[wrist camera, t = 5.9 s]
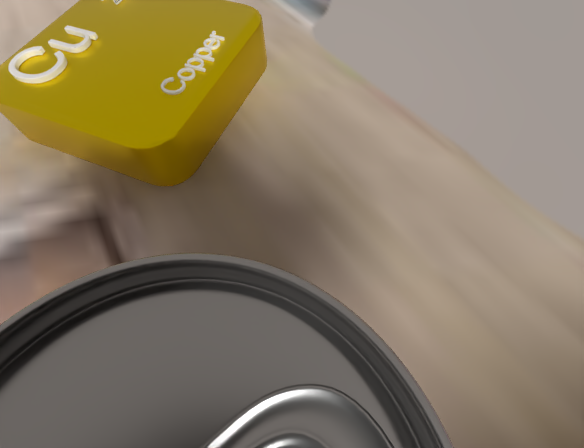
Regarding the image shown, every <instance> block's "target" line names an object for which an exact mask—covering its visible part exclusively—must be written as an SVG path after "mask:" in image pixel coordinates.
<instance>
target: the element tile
mask: <svg viewBox="0 0 584 448" xmlns="http://www.w3.org/2000/svg"><path fill="white" fill-rule="evenodd" d="M266 67H267V57H266V49H265V40H264V31H263V23H262V17H261V15H260V13H259V12H258V10H256V9H254V8H253V7H251V6H248V5H245V4H240V3H235V2H231V1H226V0H80V1H78V2H77V3H76V4H75V5H74V6H72V7H71V8H70V9H69V10H67V11H66V12H65V13H64V14H63V15H61V16H60V17H59V18H58V19H56V20H55V21H54V22H53V23H51V24H50V25H49V26H48V27H47V28H45V29H44V30H43V31H42V32H40V33H39V34H38V35H37V36H36V37H34V38H33V39H32V40H31V41H29V42H28V43H27V44H26V45H25V46H23V47H22V48H21V49H20V50H18V51H17V52H16V53H15V54H14V55H12V56H11V57H10V58H9V59H7V60H6V61H5V62H4V63H3V64H1V65H0V112H1V113H2V114H3V115H4V116H5V117H6V118H7V119H8V120H9V121H10V122H11V123H13V124H14V125H15V126H16V127H17V128H18V129H19V130H20V131H21V132H22V133H23V134H24V135H25V136H26V137H27V138H28V139H30V140H32V141H34V142H37V143H40V144H43V145H45V146H48V147H51V148H54V149H56V150H59V151H62V152H65V153H67V154H70V155H73V156H76V157H78V158H81V159H84V160H86V161H89V162H92V163H95V164H97V165H100V166H103V167H106V168H108V169H111V170H114V171H117V172H119V173H122V174H125V175H128V176H130V177H133V178H136V179H138V180H141V181H144V182H147V183H149V184H152V185H157V186H174V185H177V184H180V183H182V182H184V181H185V180H187V179H188V178H189V177H191V176H192V175H193V174H194V173H195V172H196V171H197V169H198V168H199V167H200V165H201V164H202V162H203V161H204V159H205V158H206V156H207V155H208V153H209V152H210V150H211V149H212V148H213V146H214V145H215V143H216V142H217V140H218V139H219V137H220V136H221V134H222V133H223V131H224V130H225V128H226V127H227V126H228V124H229V123H230V121H231V120H232V118H233V117H234V115H235V114H236V112H237V111H238V109H239V108H240V106H241V105H242V104H243V102H244V101H245V99H246V98H247V96H248V95H249V93H250V92H251V90H252V89H253V87H254V86H255V84H256V83H257V82H258V80H259V79H260V77H261V76H262V74H263V73H264V71H265V69H266Z"/></svg>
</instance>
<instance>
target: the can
mask: <svg viewBox="0 0 584 448" xmlns="http://www.w3.org/2000/svg"><path fill="white" fill-rule="evenodd" d="M0 448H454V447H453V445H452V443H451V441H450V438H449V436H448V434H447V432H446V430H445V429H444V427H443V425H442V423H441V421H440V419H439V417H438V415H437V414H436V412H435V410H434V409H433V407H432V405H431V403H430V402H429V400H428V399H427V397H426V395H425V394H424V392H423V391H422V389H421V388H420V386H419V385H418V383H417V382H416V380H415V379H414V377H413V376H412V375H411V373H410V372H409V371H408V369H407V368H406V367H405V365H404V364H403V363H402V361H401V360H400V359H399V358H398V357H397V355H396V354H395V353H394V352H393V350H392V349H391V348H390V347H389V346H388V345H387V344H386V343H385V342H384V340H383V339H382V338H381V337H380V336H379V335H378V334H377V333H376V332H375V331H374V330H373V329H372V328H371V327H370V326H369V325H368V324H367V323H365V322H364V321H363V320H362V319H361V318H360V317H359V316H358V315H356V314H355V313H354V312H353V311H352V310H350V309H349V308H348V307H347V306H345V305H344V304H343V303H341V302H340V301H339V300H337V299H336V298H334V297H333V296H331V295H330V294H328V293H327V292H325V291H324V290H322V289H320V288H319V287H317V286H315V285H313V284H312V283H310V282H308V281H306V280H304V279H302V278H300V277H298V276H296V275H294V274H292V273H289V272H287V271H284V270H282V269H279V268H277V267H274V266H271V265H268V264H265V263H261V262H258V261H254V260H250V259H246V258H241V257H235V256H229V255H221V254H210V253H179V254H167V255H159V256H152V257H147V258H141V259H137V260H132V261H128V262H124V263H121V264H117V265H114V266H111V267H108V268H105V269H102V270H99V271H96V272H94V273H91V274H89V275H86V276H84V277H81V278H79V279H77V280H75V281H72V282H70V283H68V284H66V285H64V286H62V287H60V288H58V289H56V290H54V291H52V292H51V293H49V294H47V295H45V296H43V297H42V298H40V299H38V300H37V301H35V302H33V303H32V304H30V305H28V306H27V307H25V308H24V309H22V310H21V311H19V312H18V313H16V314H15V315H13V316H12V317H10V318H9V319H8V320H6V321H5V322H4V323H2V324H1V325H0Z"/></svg>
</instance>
